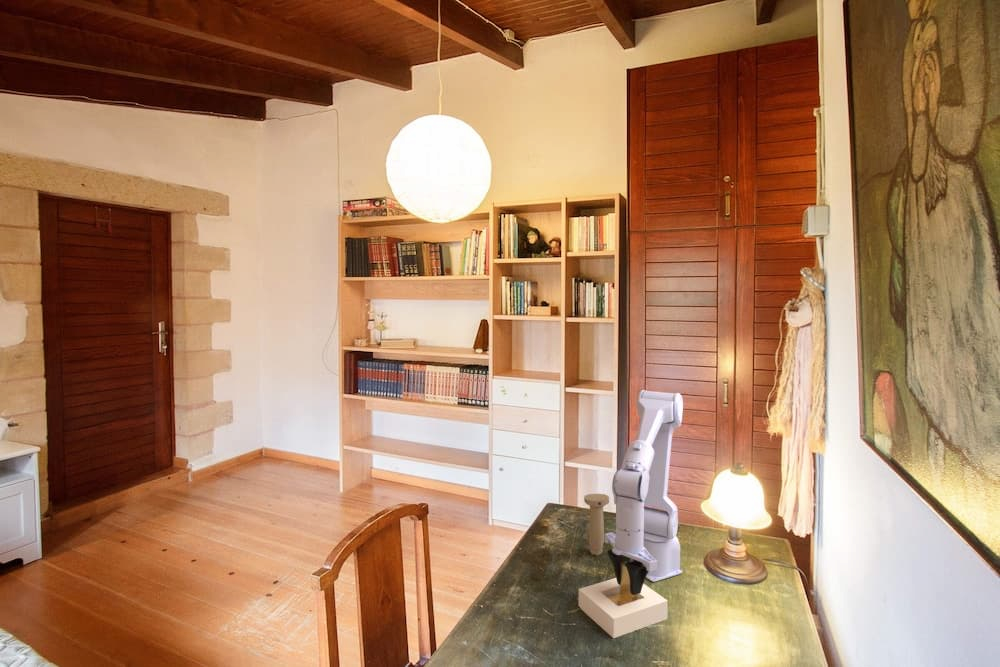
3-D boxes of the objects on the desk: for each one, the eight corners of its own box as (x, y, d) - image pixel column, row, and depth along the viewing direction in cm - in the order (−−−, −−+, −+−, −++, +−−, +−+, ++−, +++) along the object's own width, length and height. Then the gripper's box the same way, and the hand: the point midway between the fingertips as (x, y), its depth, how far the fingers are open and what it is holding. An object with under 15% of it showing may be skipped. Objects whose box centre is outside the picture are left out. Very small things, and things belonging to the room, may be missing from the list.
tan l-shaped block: (624, 597, 117) (625, 561, 116) (637, 607, 113) (638, 569, 112) (606, 603, 114) (607, 566, 114) (618, 613, 111) (619, 575, 110)
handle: (611, 556, 138) (611, 500, 137) (586, 558, 137) (587, 501, 136) (605, 547, 143) (605, 493, 142) (581, 549, 142) (582, 494, 141)
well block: (629, 590, 122) (629, 573, 122) (667, 619, 112) (667, 600, 111) (578, 606, 116) (578, 588, 116) (613, 638, 105) (613, 618, 105)
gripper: (593, 517, 118) (593, 576, 119) (638, 544, 105) (637, 610, 106) (619, 511, 121) (618, 569, 122) (665, 537, 108) (664, 601, 109)
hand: (628, 588), depth 114 cm, fingers closed on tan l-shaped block, 4 cm apart
